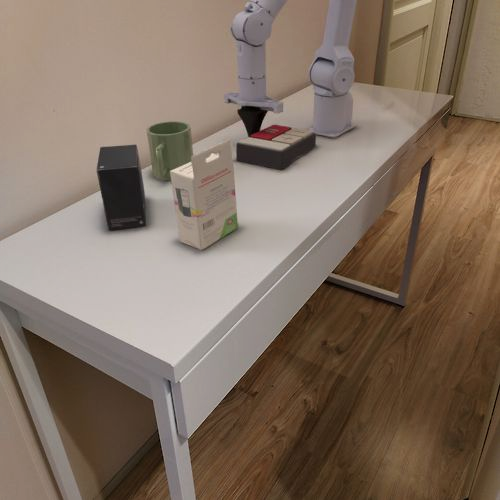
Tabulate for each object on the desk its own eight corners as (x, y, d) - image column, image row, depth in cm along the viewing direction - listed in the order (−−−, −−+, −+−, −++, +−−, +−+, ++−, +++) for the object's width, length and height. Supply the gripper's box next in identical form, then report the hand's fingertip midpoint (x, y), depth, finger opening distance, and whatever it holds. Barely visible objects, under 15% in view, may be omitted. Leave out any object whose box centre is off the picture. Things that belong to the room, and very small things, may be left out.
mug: (160, 163, 104) (154, 120, 99) (199, 164, 102) (195, 121, 98) (141, 186, 94) (134, 140, 90) (183, 188, 93) (178, 141, 88)
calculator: (317, 129, 107) (282, 148, 96) (316, 149, 109) (281, 169, 98) (272, 122, 112) (235, 139, 101) (272, 141, 114) (235, 160, 103)
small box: (148, 226, 81) (138, 165, 75) (107, 231, 80) (94, 170, 74) (146, 198, 90) (137, 142, 84) (109, 203, 89) (98, 146, 83)
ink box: (215, 219, 82) (208, 132, 74) (239, 228, 79) (233, 138, 72) (177, 241, 77) (165, 149, 69) (200, 252, 74) (190, 156, 66)
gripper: (212, 75, 104) (217, 139, 111) (267, 85, 96) (268, 152, 103) (235, 69, 108) (238, 130, 115) (289, 77, 100) (289, 143, 107)
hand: (253, 140), depth 109 cm, fingers closed
